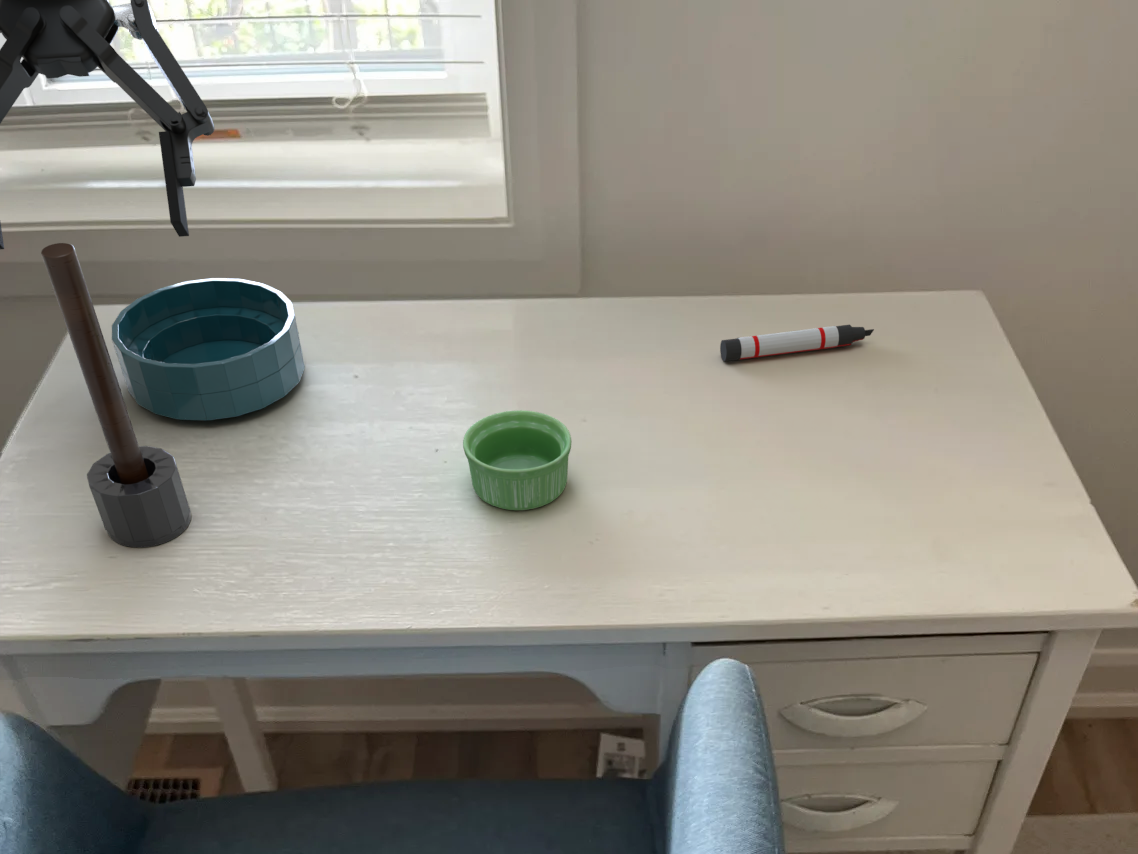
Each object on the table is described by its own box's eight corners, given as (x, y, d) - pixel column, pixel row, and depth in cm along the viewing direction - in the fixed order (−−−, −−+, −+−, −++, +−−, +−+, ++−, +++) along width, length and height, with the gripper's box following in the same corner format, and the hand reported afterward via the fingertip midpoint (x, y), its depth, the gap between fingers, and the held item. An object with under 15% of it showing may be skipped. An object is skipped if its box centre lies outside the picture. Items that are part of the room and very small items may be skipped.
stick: (129, 523, 97) (35, 256, 81) (138, 507, 99) (47, 242, 82) (156, 524, 97) (67, 257, 81) (164, 508, 99) (78, 243, 82)
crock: (94, 546, 96) (74, 494, 92) (122, 495, 101) (103, 444, 97) (177, 549, 96) (161, 497, 92) (201, 498, 100) (186, 446, 97)
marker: (725, 365, 114) (727, 346, 113) (719, 355, 116) (721, 335, 114) (875, 346, 117) (878, 327, 115) (867, 336, 118) (871, 317, 116)
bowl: (107, 425, 108) (86, 364, 103) (160, 334, 118) (143, 275, 114) (284, 431, 107) (271, 369, 103) (321, 339, 118) (310, 280, 113)
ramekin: (507, 443, 106) (504, 398, 102) (592, 475, 103) (592, 430, 99) (445, 493, 101) (440, 448, 98) (533, 529, 98) (531, 483, 94)
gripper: (229, -38, 92) (264, 243, 94) (-108, -21, 90) (-66, 266, 91) (209, -103, 85) (248, 203, 86) (-159, -87, 82) (-113, 227, 84)
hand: (86, 236), depth 89 cm, fingers open, 13 cm apart
